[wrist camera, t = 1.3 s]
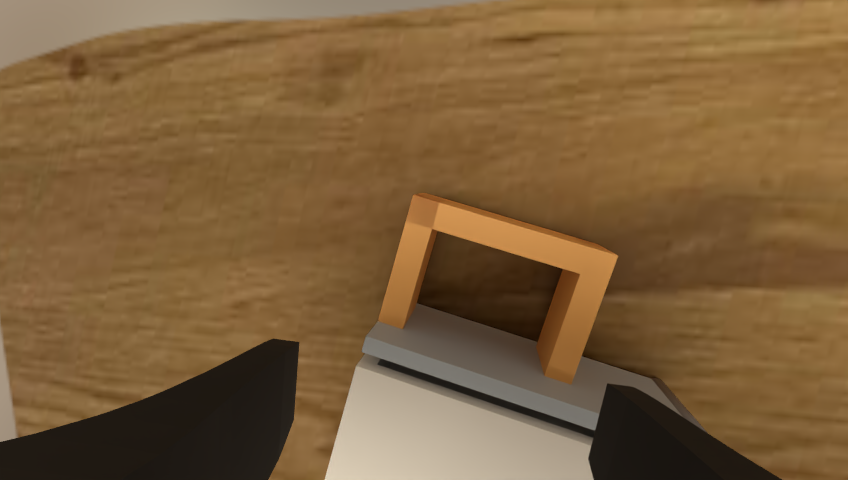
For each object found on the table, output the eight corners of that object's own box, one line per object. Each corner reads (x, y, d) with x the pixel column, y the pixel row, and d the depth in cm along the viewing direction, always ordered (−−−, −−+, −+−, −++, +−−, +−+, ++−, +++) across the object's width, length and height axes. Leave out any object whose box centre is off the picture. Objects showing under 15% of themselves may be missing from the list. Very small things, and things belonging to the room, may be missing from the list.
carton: (646, 397, 20) (712, 487, 14) (587, 548, 22) (624, 686, 16) (392, 315, 21) (356, 365, 15) (350, 462, 23) (302, 560, 17)
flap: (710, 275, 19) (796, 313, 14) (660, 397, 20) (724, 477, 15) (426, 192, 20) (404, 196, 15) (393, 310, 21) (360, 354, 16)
